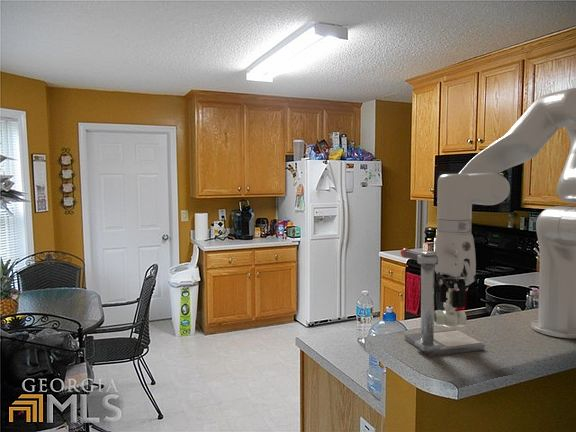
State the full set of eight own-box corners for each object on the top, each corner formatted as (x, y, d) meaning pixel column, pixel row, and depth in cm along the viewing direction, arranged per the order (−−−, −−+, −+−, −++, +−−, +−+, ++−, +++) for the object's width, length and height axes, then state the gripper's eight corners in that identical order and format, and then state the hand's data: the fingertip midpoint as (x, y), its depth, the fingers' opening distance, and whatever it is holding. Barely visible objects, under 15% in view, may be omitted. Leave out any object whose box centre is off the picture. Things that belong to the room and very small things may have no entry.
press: (455, 334, 111) (456, 244, 110) (484, 349, 101) (486, 250, 99) (401, 339, 108) (401, 247, 106) (425, 356, 97) (425, 254, 96)
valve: (468, 332, 101) (470, 280, 100) (438, 331, 101) (440, 279, 101) (459, 323, 107) (461, 274, 107) (431, 322, 108) (433, 273, 107)
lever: (442, 266, 97) (442, 255, 97) (424, 267, 96) (424, 256, 96) (411, 256, 110) (411, 247, 110) (395, 257, 109) (395, 248, 109)
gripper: (492, 230, 96) (490, 313, 97) (447, 223, 112) (446, 295, 113) (461, 231, 94) (460, 315, 95) (420, 224, 110) (419, 296, 112)
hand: (452, 303), depth 104 cm, fingers closed on valve, 4 cm apart
